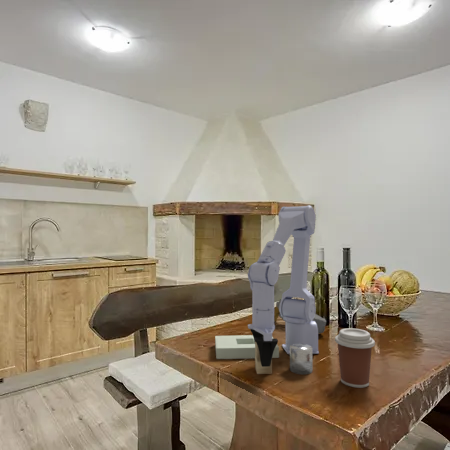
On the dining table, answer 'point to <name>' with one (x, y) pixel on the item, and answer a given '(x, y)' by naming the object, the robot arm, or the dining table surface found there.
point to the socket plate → (237, 347)
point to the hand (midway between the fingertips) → (263, 360)
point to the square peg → (258, 363)
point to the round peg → (301, 358)
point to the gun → (319, 320)
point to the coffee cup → (354, 356)
